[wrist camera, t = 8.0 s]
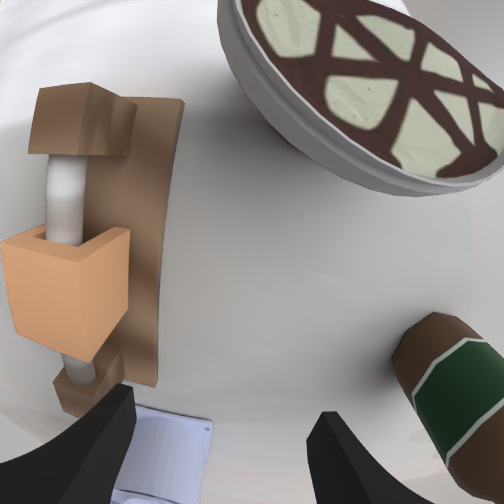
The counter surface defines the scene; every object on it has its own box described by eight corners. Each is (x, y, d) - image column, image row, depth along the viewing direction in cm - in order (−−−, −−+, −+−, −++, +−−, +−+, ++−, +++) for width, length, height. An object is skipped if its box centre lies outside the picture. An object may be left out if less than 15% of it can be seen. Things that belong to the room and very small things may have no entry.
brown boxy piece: (157, 379, 20) (137, 440, 14) (73, 354, 19) (38, 403, 13) (184, 103, 14) (149, 68, 8) (74, 101, 14) (10, 85, 7)
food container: (207, 152, 15) (149, 134, 6) (232, 57, 13) (218, -52, 4) (398, 204, 16) (514, 249, 7) (416, 118, 15) (533, 104, 5)
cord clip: (128, 308, 16) (89, 363, 11) (64, 291, 15) (16, 333, 10) (130, 229, 14) (78, 262, 9) (60, 217, 14) (0, 242, 9)
